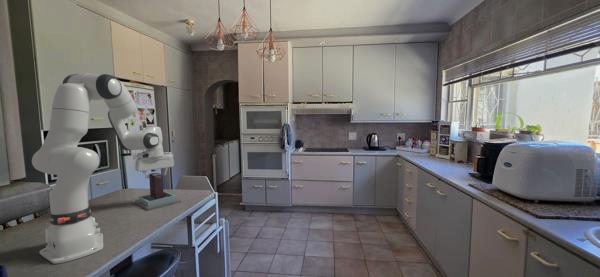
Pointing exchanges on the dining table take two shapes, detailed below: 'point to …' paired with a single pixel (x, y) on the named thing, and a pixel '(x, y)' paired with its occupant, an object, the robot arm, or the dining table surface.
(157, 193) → the supplement box
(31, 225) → the dining table surface
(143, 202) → the tray
